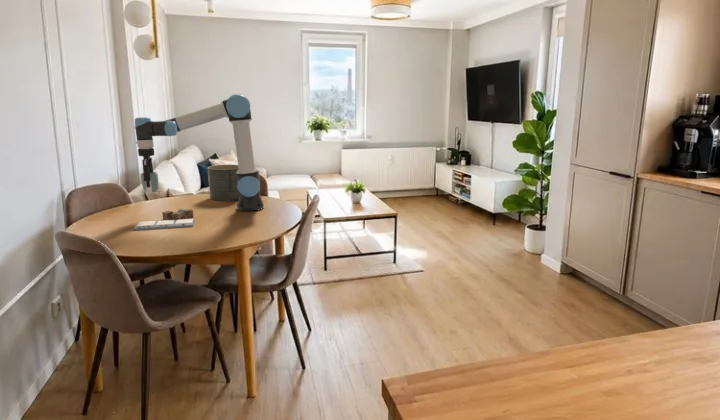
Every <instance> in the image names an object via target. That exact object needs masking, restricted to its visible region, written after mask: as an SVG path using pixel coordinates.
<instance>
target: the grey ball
mask: <svg viewBox="0 0 720 420" xmlns="http://www.w3.org/2000/svg"><path fill="white" fill-rule="evenodd" d="M184 210H185V208H179V209H178V210H177V212H183V216H184Z"/></svg>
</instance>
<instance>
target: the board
mask: <svg viewBox="0 0 720 420" xmlns="http://www.w3.org/2000/svg"><path fill="white" fill-rule="evenodd" d="M194 224H195V218H183V219H181V220H172V219H171V220H164V219H163V220H152V221H150V220H149V221H137V223H136V224H135V225H134V227H133V231H146V230H147V231H149V230H160V229H161V230H162V229H176V228H177V229H178V228H179V229H180V228H193V227H194Z"/></svg>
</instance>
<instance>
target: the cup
mask: <svg viewBox="0 0 720 420" xmlns="http://www.w3.org/2000/svg"><path fill="white" fill-rule="evenodd" d="M158 175H159V174H158V172H156V171H155V172H154V171H153V172H151V173H150V181H151V185H152V193H151V194H153V193H156V192H158V190H159V176H158ZM140 178H141V186H142V189H143V191H144V192H145V193H146V185H145V181H143V180H144V173H143V172H142V173H140Z"/></svg>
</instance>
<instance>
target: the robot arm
mask: <svg viewBox="0 0 720 420" xmlns="http://www.w3.org/2000/svg"><path fill="white" fill-rule="evenodd" d="M223 118H224V119H225V118H227V119H228V122H229V123H230V124H232V129H233V130H232V131H233V138H234V144H235V145H234V146H235V152H236V158H237V165H238V168H239V169H238V171H237V172H236V175H237V182H238V185H237V188H238V190H239V195H240V196H239V200H237V204H236V209H237V210H238V211H240V210H242V211H241V212H254V211H253V210H257V211H259V210H258V209H261V208H263V207H265V205H264V202H263V200H262V197H261V183H260V182H261V181H260V171H259V169H257V168H256V167H255V158H254V151H253V143H252V136H251V127H250V122H251V121H252V119H253V118H252V112H251V103H250V101H249V98H248V97H247V96H246V95H243V94H241V93H235V94H233V95H230V96H229V97H228V98H227V99H225V100H221V102H220V103H219V104H215V105H211V106H208V107H205V108H202V109H199V110H195V111H193V112H189V113H185V114H182V115H179V116H176V117H173V118H169V119H166V120H163V121H162V120H160V121H159V120H158V121H157V120H155V121H153V120H151V118H150V117H148V116H147V117H135V119H134V129H135V136H136V141H135V144H137V155H138V156H139V157H142V158H143V159H142V160H141V162H142V163H141V164H142V169H143V170H142V171H143V172H142V173H144V180H143V181H145V185H146V192H145V193H146V194H153V193H152V185H151V181H150V173H151V172H154V166H153V158H152V157H154V156H155V149H154V147H155V146H154V139H153V137H175V136H177V135H178V133H179V132H182V131H185V130H187V129H192V128H195V127H197V126H201V125H205V124H208V123H212V122H214V121H217V120H221V119H223ZM263 209H264V208H263ZM261 210H262V209H261Z"/></svg>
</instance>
